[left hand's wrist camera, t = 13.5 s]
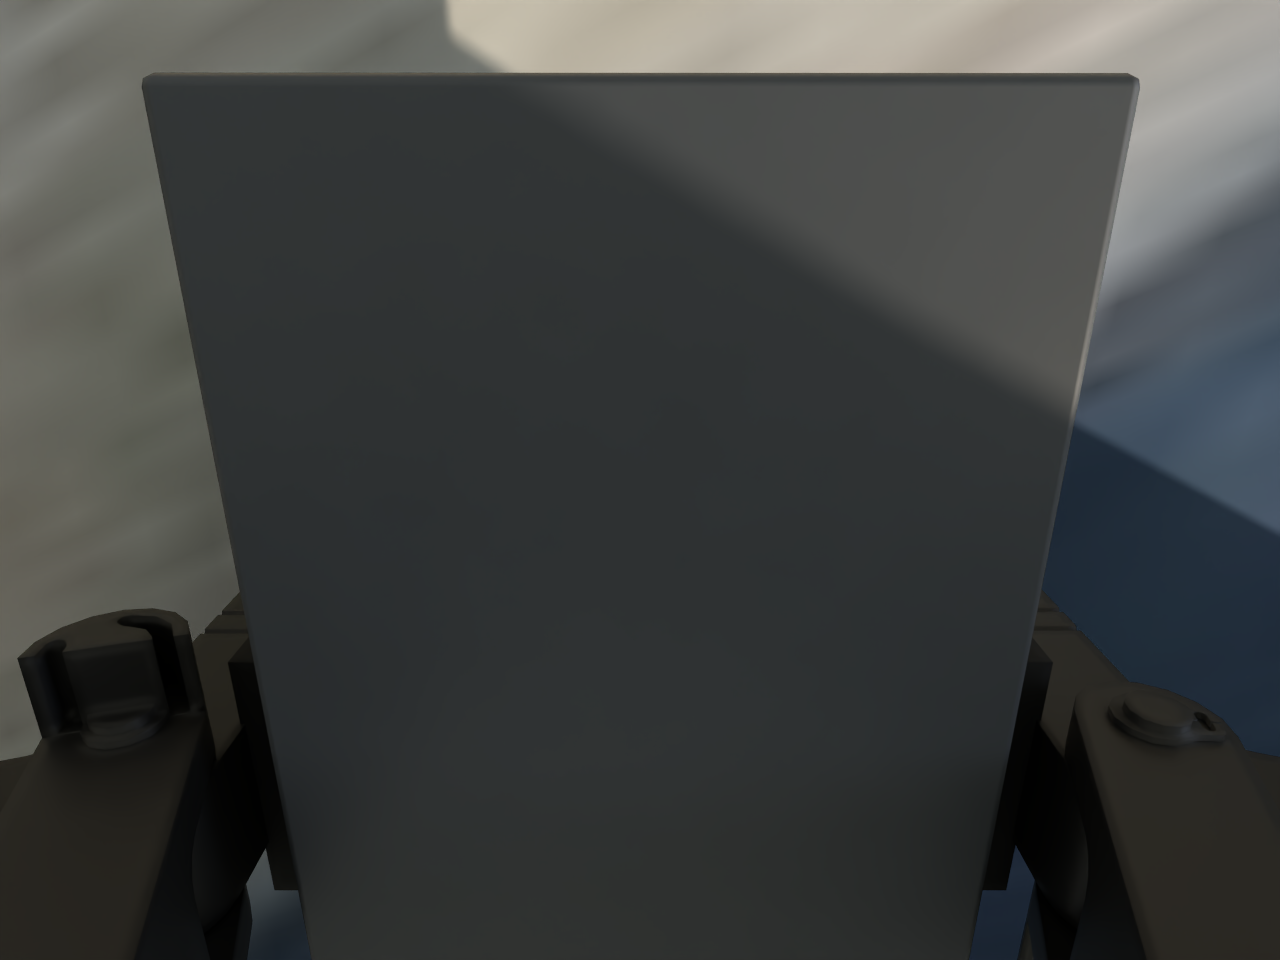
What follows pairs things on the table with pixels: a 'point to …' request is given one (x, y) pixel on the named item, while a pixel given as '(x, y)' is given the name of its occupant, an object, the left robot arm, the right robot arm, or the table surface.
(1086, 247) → the beam
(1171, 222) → the table surface
